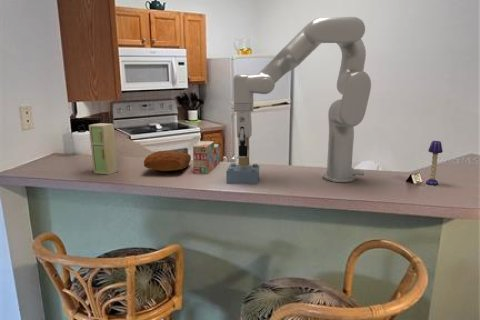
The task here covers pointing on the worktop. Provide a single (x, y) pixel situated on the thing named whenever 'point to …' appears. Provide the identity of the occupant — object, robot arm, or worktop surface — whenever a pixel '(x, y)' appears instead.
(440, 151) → the toy lamp
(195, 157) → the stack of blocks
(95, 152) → the toy refrigerator
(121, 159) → the worktop surface
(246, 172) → the base brick
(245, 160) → the sprinkles bottle
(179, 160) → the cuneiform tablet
